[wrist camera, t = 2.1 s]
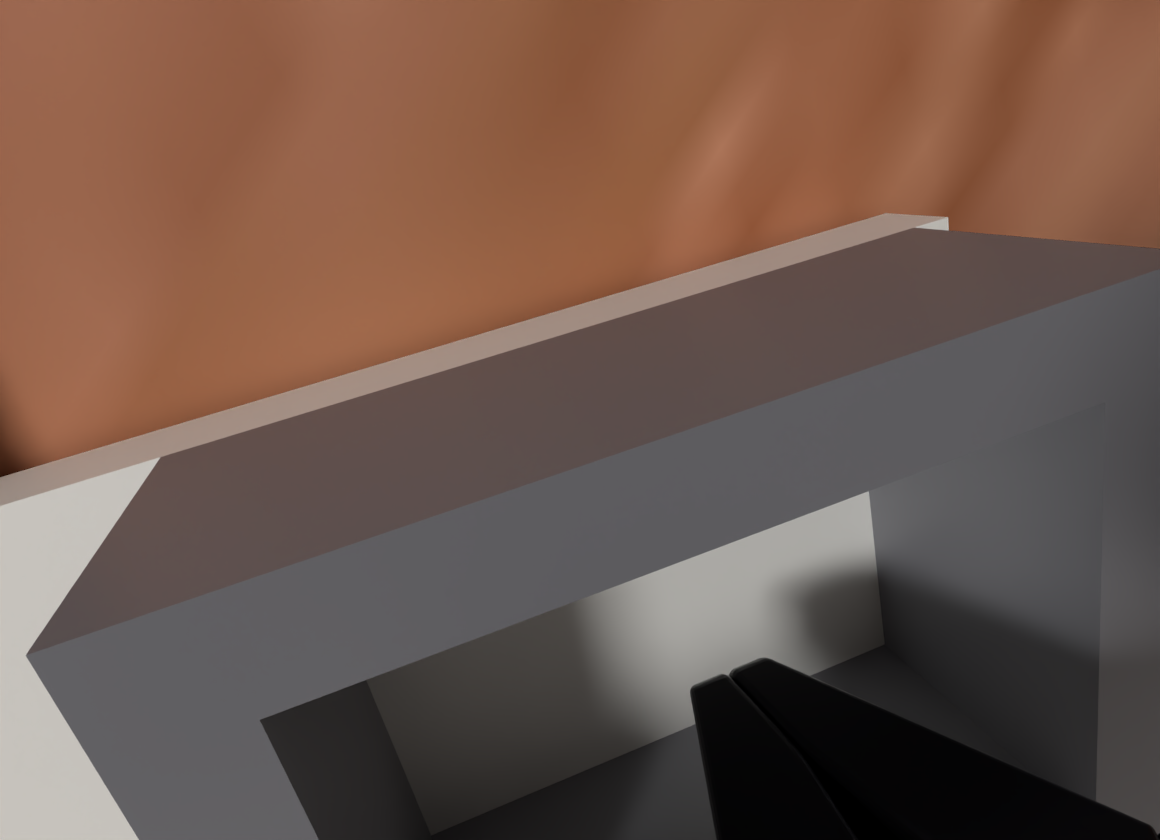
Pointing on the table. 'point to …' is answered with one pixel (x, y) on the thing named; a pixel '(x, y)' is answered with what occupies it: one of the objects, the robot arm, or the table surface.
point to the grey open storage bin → (609, 555)
